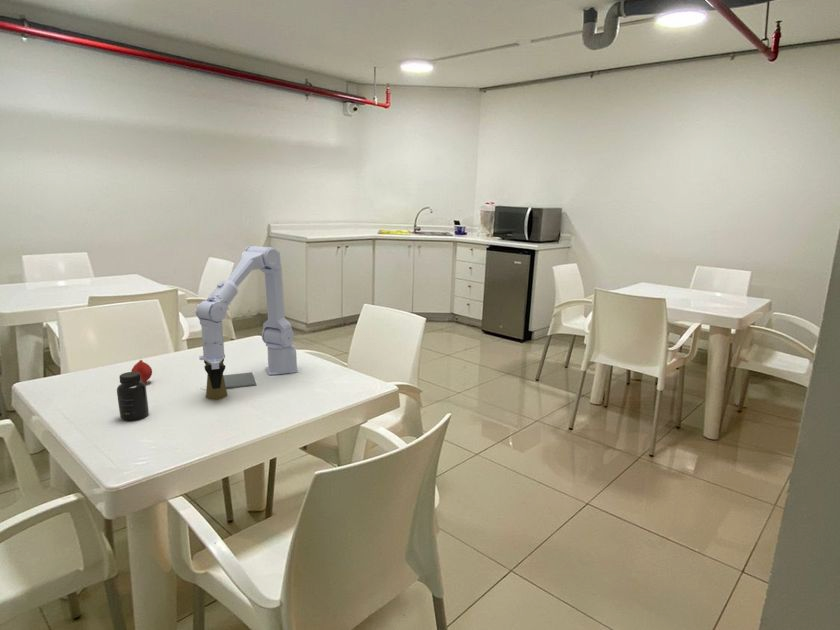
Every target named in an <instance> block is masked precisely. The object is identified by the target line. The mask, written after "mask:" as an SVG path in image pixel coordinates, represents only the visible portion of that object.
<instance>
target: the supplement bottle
mask: <svg viewBox="0 0 840 630" xmlns="http://www.w3.org/2000/svg"><path fill="white" fill-rule="evenodd" d="M140 380H141V377H140V373H139V372H131V371H128V372H124V373H121V374H119V383H120V384H119V385H118V386H117V388H116V397H117V404H118V411H119V418H120V419H121V420H122V421H124V422H134V421H135V422H136V421H140V420H142V419H145V418H146V417H147V416H148V415H149V414H150V413H149V412H150V411H149V402H148V393H147V386H146V382H145V383H143V382H142V381H140Z"/></svg>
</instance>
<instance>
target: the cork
mask: <svg viewBox="0 0 840 630" xmlns="http://www.w3.org/2000/svg"><path fill="white" fill-rule="evenodd" d="M210 365H211V364H210V363H208V362H207V363H206V364H205V365H204V366H210ZM221 365H225V363H224V361H223V362H222V361H221V362H220V363H219V366H221ZM223 375H224V374H223ZM223 375H222V380H221V387H220V388H218V389H213V388H212V386H211V382H210V378H209V376H208V374H207V378H206V392H205V398H206V399H207V400H211V401H212V400H213V401H214V400H215V401H216V400H221V399H224V398H227V396H228V392H227V391H228V390H227V389H226V386H225V381H224V376H223Z"/></svg>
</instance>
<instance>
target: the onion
mask: <svg viewBox="0 0 840 630" xmlns="http://www.w3.org/2000/svg"><path fill="white" fill-rule="evenodd" d="M130 372H139V373H140V377H141V380H140V381H142V382H143V383H145V384H146V382H147V381H149V379H150V378H151V377H152V375H153V369H152V367H151V366H150V364H148V363H146V362H144V361H143V359H140V360H139V361H138V362H136V363H135V365H133V366H132V369H131V371H130Z"/></svg>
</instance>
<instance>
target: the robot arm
mask: <svg viewBox="0 0 840 630" xmlns="http://www.w3.org/2000/svg"><path fill="white" fill-rule="evenodd" d="M254 270H260V271H261V272H262V273H263V274H264V277H265V278H264V279H265V280H264V281H265V295H266V307H267V308H266V309H267V311H266V312H267V320H265V322H263V324H262V333H261V340H262V341H263V342H264V344H265V346H266V347H267V366H266V367H265V369H266V372H267V373H268V375H269V376H273V375H275V376H276V375H285V374H293V373H294V374H295V373H297V372H298V361H297V348H296V345H295V344H293V342H294V340H295V333H294V331H293V329H292V328H293V327H292V325H293V324H291V322H289V320H287V319H286V317H285V301H284V300H285V299H284V286H283V285H284V284H283V271H282V270H283V268H282V263H281V253H280V251H278V250H277V248H275V247H274V246H269V247H268V246H259V245H258V246H255V245H248V246H246V247H245V249H244V250H243V252H242V253H241V259H240V261H239V262H238V263H237V265H236V267H235V268H234V270H233V271H232V273H231V274H230V275H229V277H228V279H227V280H222V281H220V282H218V283H217V285H216V287H215V289H214V290H213V291H212V292H211V294H209V295H208V297H207V299H205V300H202V301H201V302H200V303H199V304H198V305H197V308H196V311H195V312H194V313H195V316H196V317H197V318H198V320H199V325H201V326H200V327H201V339H202V351H203V352H202V353H203V354H202V355H200V356H198V358H199V360H200V361H203V362H204V364H205V365H206V363H207V362H208V363H210V364H211V365H210V366H205V365H204V370H205V373H207V375H208V376H209V378H210V382H211V386H212V388H213V389H218V388H220V387H221V380H222V375H224V372H225V370H226V364H224V365H221V366H219V363H220V362H221V361H222V362H223V363H224V361H225V359H226V354H225V347H224V346H225V343H224V328H223V320H224V319H225V318H226V316H227V311H228V308H229V305H230V304H231V302H233V300H234V299H235V297H236V296H237V294H238V293H239V290H238V287H239V286H240V285H241V283H243V282H244V280H245V279H246V278H247V277H248V276H249V275H250V273H252V271H254Z"/></svg>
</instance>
